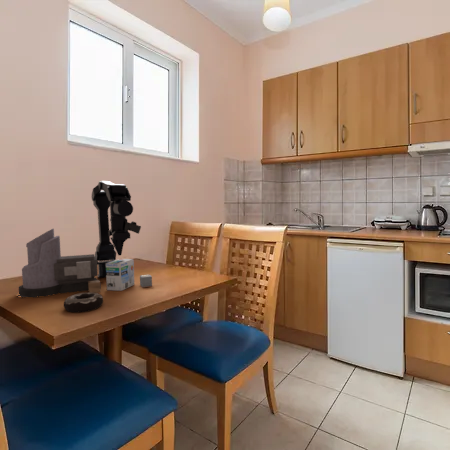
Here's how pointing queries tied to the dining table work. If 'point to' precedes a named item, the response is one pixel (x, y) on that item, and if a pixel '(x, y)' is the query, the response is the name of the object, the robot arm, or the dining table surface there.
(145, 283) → the grey marked block
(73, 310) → the donut
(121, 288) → the light bulb box
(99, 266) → the robot arm
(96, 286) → the walnut marked block
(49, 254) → the grey boxy piece
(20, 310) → the dining table surface
